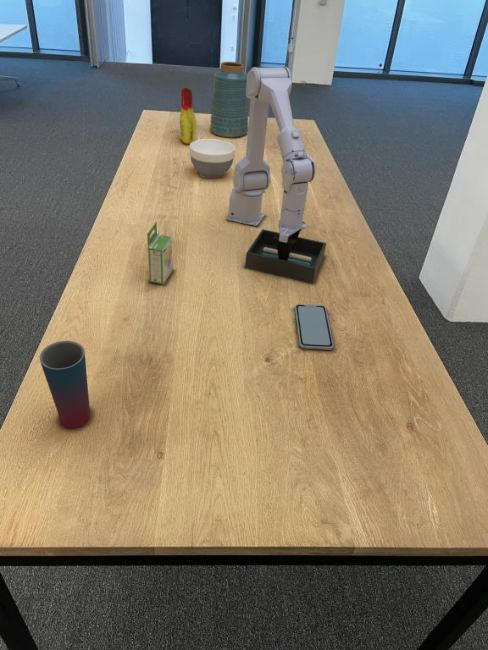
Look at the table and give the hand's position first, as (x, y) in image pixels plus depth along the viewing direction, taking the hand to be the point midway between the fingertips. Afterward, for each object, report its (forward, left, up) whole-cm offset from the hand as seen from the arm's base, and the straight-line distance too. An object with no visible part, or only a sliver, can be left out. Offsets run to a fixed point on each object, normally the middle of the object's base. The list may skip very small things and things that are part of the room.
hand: (286, 253), depth 133 cm
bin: (0, 0, -3) cm, 3 cm away
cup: (-21, -67, -3) cm, 70 cm away
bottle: (-61, +75, -3) cm, 97 cm away
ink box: (-27, -20, -3) cm, 34 cm away
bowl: (-40, +48, -3) cm, 63 cm away
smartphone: (+13, -25, -3) cm, 28 cm away
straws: (0, 0, -2) cm, 2 cm away
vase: (-50, +94, -3) cm, 107 cm away
